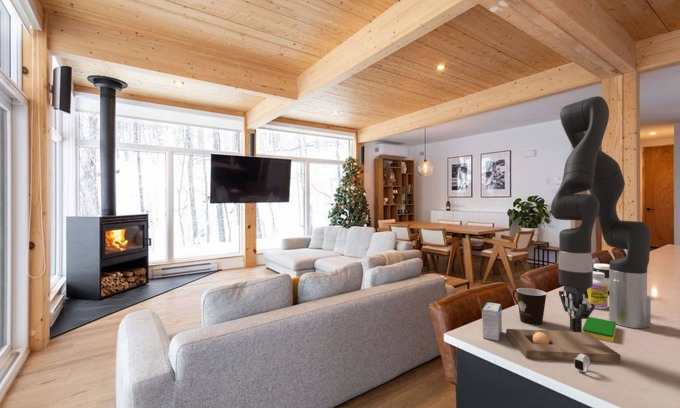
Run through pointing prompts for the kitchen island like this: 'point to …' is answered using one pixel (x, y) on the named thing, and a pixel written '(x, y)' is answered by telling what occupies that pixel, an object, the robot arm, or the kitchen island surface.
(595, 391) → the kitchen island surface
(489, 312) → the medicine box
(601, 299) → the supplement bottle
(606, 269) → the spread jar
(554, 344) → the walnut board
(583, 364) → the smartwatch
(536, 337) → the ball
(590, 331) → the dish sponge
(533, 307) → the coffee mug
